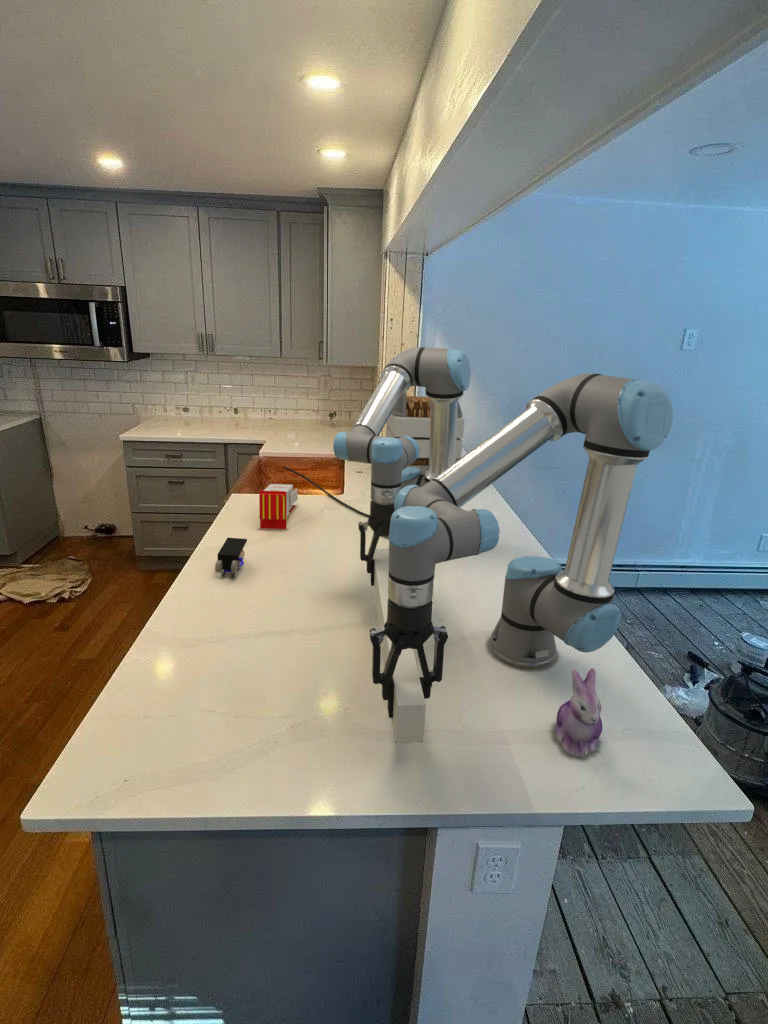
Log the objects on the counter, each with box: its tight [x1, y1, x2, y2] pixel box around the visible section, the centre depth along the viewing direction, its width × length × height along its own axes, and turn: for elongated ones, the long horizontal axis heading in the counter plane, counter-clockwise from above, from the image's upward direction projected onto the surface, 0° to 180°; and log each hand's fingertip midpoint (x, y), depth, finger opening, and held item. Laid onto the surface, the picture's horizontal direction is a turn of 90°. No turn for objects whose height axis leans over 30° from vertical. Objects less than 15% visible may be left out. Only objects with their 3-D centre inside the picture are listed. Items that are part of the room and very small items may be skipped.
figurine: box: [554, 667, 603, 758], centre depth 104 cm, size 9×10×15 cm
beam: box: [373, 548, 427, 744], centre depth 125 cm, size 64×5×8 cm, turn 5°
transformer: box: [385, 391, 465, 467], centre depth 268 cm, size 34×33×41 cm
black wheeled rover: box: [214, 537, 248, 578], centre depth 166 cm, size 7×8×15 cm
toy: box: [258, 483, 299, 530], centre depth 210 cm, size 12×13×30 cm
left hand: (382, 583), depth 150 cm, fingers closed on beam, 5 cm apart
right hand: (405, 711), depth 102 cm, fingers closed on beam, 5 cm apart
